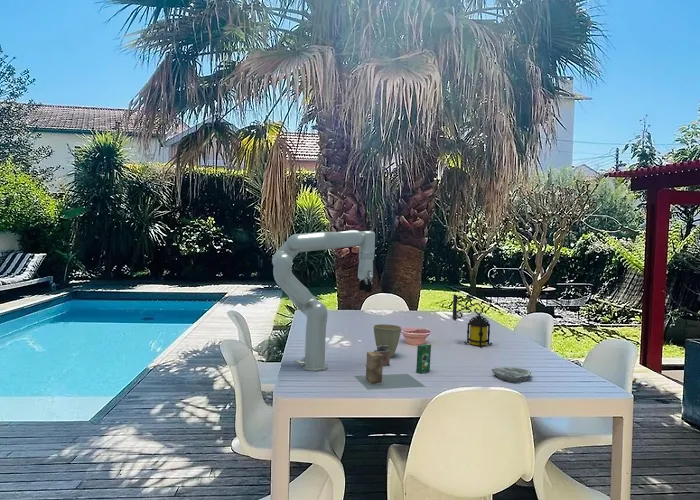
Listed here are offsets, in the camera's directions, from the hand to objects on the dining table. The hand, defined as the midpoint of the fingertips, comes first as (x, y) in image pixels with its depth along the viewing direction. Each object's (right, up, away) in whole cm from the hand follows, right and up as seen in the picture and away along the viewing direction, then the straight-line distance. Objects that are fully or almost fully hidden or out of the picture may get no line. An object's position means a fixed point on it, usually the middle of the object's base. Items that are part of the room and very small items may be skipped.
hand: (365, 291), depth 251 cm
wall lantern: (+67, -38, +61) cm, 98 cm away
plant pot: (+12, -37, +24) cm, 45 cm away
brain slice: (+68, -40, -9) cm, 80 cm away
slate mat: (+10, -38, -26) cm, 47 cm away
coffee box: (+28, -38, -5) cm, 47 cm away
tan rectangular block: (+3, -37, -28) cm, 46 cm away
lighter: (+8, -37, +4) cm, 38 cm away
